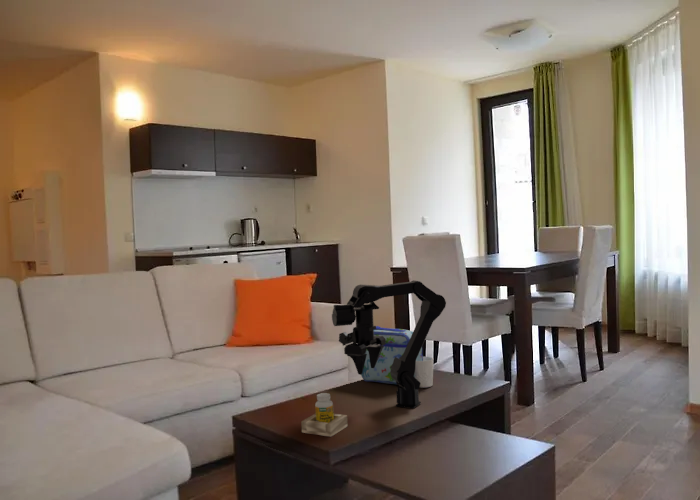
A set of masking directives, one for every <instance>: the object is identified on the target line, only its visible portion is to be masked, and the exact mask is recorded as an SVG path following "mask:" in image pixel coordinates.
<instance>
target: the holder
mask: <svg viewBox="0 0 700 500" xmlns="http://www.w3.org/2000/svg"><path fill="white" fill-rule="evenodd" d="M347 427H348V415H347V414H340V413H334V420H332V421H331V422H329V423H325V422H318V421H316V413H314V414H312V415H311V416H309V417H306V418H304V419H303V420H301V433H303V434H304V433H305V434H311V435H319V436H324V437H333V436H334V435H336V434H337V433H339V432H340V431H342V430H344V429H345V428H347Z"/></svg>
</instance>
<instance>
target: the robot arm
mask: <svg viewBox="0 0 700 500" xmlns="http://www.w3.org/2000/svg"><path fill="white" fill-rule="evenodd" d="M412 294H414V295H415V296H416V298H417V299H418V300H420V301H421V304H420V309H419V310H420V313H419V314H420V315H419V318H418V320H417V323H416V325H415V327H414V330H412V331H413V333H412V336H411V338H410V340H409V342H408V345H407V347H406V349H405V351H404V353H403V355H402V356H401V357H400V358H399V359H398V358H397V357H395V358H394V361H393V364H392V366H391V367H390V368H391V371H390V374H391V377H392V379H394V380H395V381H396V383H397V384H396V385H398V386H397V387H396V388H397V390H396V392H395V393H396V396H395V397H396V403H397V404H396V405H395V407H399V408H406V409H416V408H417V407H418V406H419V405H421V404H420V403H421V401H420V399H419V397H420V396H419V389H420V388H421V387H420V384H421V383H420V382H419V381H418V380H417V379H416V378H415V377H414V373H415V366H416V359H417V357H418V354H419V352H420V350H421V348H422V349H423V345H424V343H425V341H426V339H427V336H428V334H429V332H430V329H431V328H432V325H433V323H434V322H435V320H436V319H438V317H440V316H441V314H442V313H443V311H444V310H445V308H446V306H447V301H446V299H445V296H443V295H441V294H438V293H436V292H435V291H433V290H432V289H430V288H429V287H427V286H426V285H425V284H424V283H422V281H419V280H410V281H406V282H405V281H404V282H398V283H390V284H389V283H388V284H382V285H375V284H357V285H356V286H355V287H354V288H353V290H352V295H351V297H350V298H349V300H348V302H347V303H346V304H333V309H332V314H331V321H332V324H333V326H334V327H340V326H341V327H342V326H352V325H353V324H354V323H355V327H352V331H351V332H348V333H347V332H346V331H343V332H341V333H339V334H338V335H339V337H338V342H339V343H341V344H342V346H344V348H343V350H344V355H346V356H347V357H350V359H352V361H353V363H354V365H355V369H356V371H357V374H358V375H360V376H361V374H362V372H363V368H364V364H365V360H366V356H367V354H365V353H366V349H367V350H368V352H369V358H370V365H371V368H375V365H376V363H377V360H378V358H379V356H380V353H381V351H382V349H383V348H384V346H383V345H385V344H386V341H385V338H384V337H383V336H374V329H376V326H377V325H374V310H379V309H380V306H378V305H377V304H376V302H377V301H379V300H380V299H383V298H388V297H395V296H403V295H412ZM380 345H381V346H380Z"/></svg>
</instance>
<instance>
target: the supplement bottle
mask: <svg viewBox="0 0 700 500" xmlns="http://www.w3.org/2000/svg"><path fill="white" fill-rule="evenodd" d="M316 400H317V401H316V402H315V404H314V405H315V406H314V407H315V414H316V421H318V422H325V423H329V422H331V421H332V420H334V414H335V413H334V403H333V401H332V400H331V394H330V393H329V392H328V393H327V392H321V393H318V394H316Z"/></svg>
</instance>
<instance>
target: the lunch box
mask: <svg viewBox="0 0 700 500" xmlns="http://www.w3.org/2000/svg"><path fill="white" fill-rule="evenodd" d="M375 326H376V329H374V336H383V337H384V338H385V341H386V344H385V345H383V346H384V348H383V349H382V351H381V353H380V356H379V358H378V360H377V363H376V365H375V368H371V365H370V358H369V352H368V350H367V349H366V353H365V354H367V356H366V360H365V364H364V368H363V372H362V374H361V375H360V376H361V378H362V380H363V381H364V382H375V383H380V384H381V383H382V384H389V385H397V383H396V381H395V380H394V379H392V377H391V374H390V371H391V368H390V367H391V366H392V364H393V361H394V358H395V357H397V358H398V359H399V358H400V357H401V356H402V355H403V353H404V351H405V349H406V347H407V345H408V342H409V340H410V338H411V336H412V333H413V331H414V330H410V329H409V330H408V329H403V328H390V327H389V328H388V327H381V326H378V325H375ZM380 346H381V345H380ZM423 357H424V355H423V347H422V348H421V350H420V352H419V354H418V357H417V359H416V361H423ZM414 377H415V373H414Z"/></svg>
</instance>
